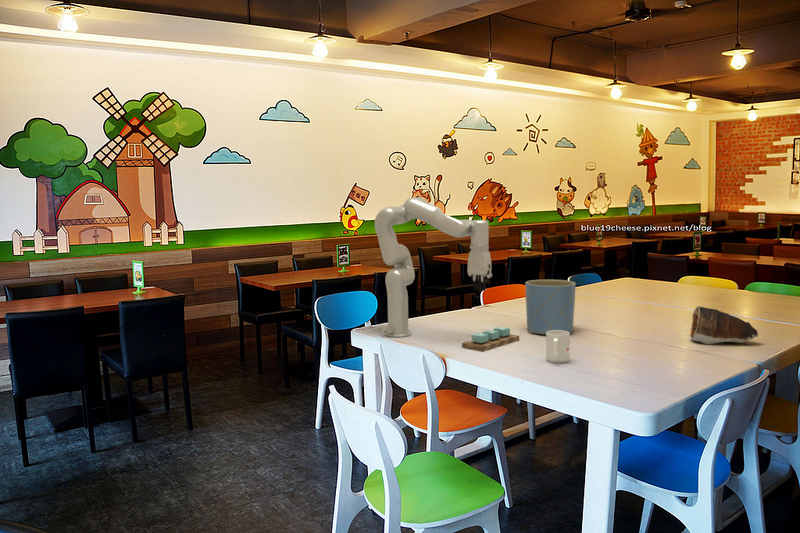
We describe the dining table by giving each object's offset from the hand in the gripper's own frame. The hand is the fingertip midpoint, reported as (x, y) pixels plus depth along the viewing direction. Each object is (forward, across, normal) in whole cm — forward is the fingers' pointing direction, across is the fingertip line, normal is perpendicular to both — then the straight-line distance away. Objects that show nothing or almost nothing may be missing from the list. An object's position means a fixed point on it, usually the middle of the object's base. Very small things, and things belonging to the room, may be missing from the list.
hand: (479, 290), depth 264 cm
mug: (+23, +42, -7) cm, 49 cm away
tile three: (+20, +6, +8) cm, 23 cm away
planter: (+23, +13, +37) cm, 46 cm away
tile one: (+20, +6, -8) cm, 23 cm away
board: (+23, +6, 0) cm, 24 cm away
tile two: (+20, +6, 0) cm, 21 cm away
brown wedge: (+23, +80, +65) cm, 106 cm away
